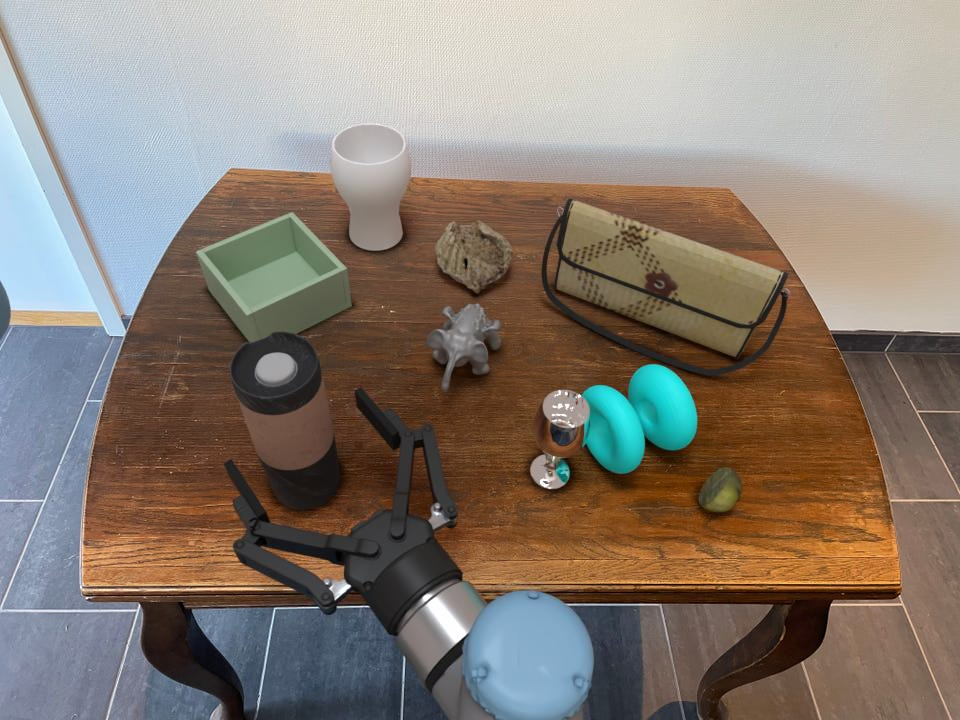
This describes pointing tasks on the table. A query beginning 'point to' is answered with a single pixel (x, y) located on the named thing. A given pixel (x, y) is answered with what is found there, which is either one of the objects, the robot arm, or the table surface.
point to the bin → (275, 278)
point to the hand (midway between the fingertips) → (297, 431)
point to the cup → (371, 181)
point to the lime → (721, 490)
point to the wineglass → (559, 436)
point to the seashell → (473, 254)
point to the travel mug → (288, 417)
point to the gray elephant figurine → (464, 340)
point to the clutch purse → (663, 283)
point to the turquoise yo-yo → (639, 418)
